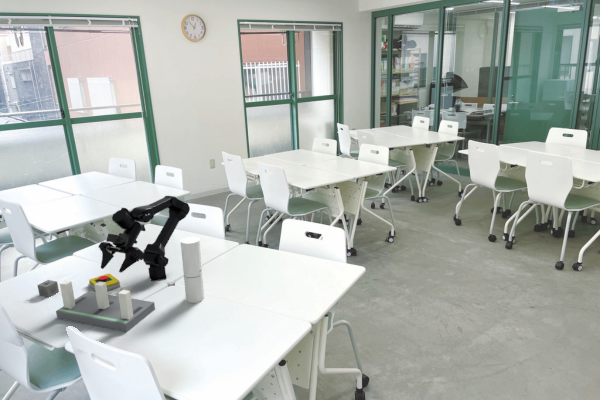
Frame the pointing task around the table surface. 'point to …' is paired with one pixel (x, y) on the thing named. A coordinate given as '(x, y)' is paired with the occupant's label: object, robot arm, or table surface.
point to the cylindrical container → (192, 269)
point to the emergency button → (110, 281)
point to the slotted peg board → (116, 316)
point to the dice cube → (48, 288)
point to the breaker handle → (102, 295)
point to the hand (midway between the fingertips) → (110, 270)
